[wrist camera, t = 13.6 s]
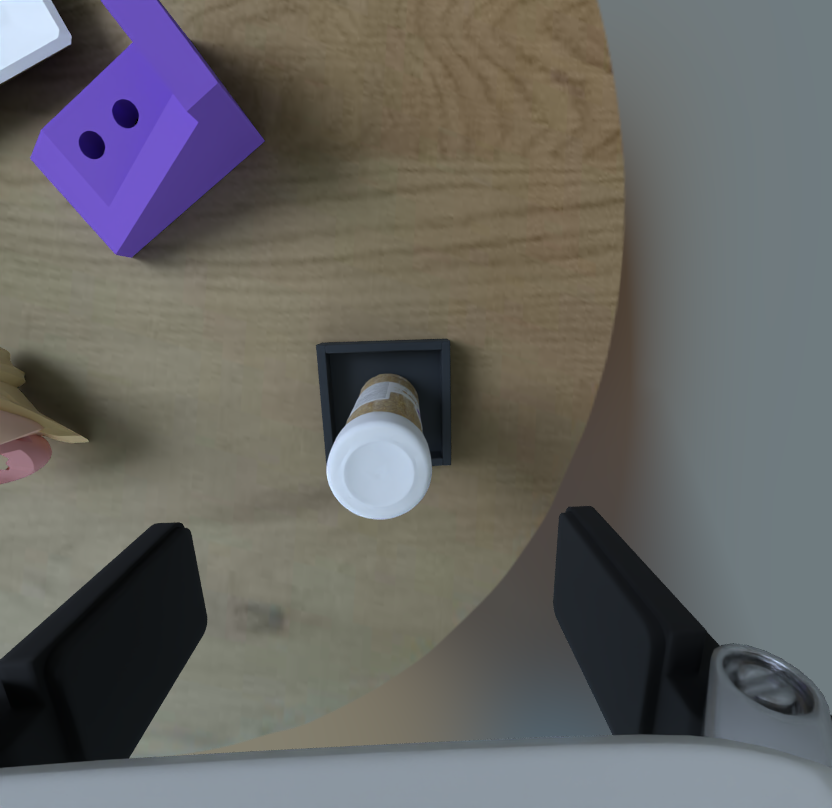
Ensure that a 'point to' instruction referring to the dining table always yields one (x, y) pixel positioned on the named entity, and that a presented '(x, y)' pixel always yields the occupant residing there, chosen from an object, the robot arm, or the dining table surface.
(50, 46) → the plate
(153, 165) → the bracket
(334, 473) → the sprinkles bottle
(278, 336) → the dining table surface
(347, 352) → the dark grey square tray
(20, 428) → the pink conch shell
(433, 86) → the dining table surface
